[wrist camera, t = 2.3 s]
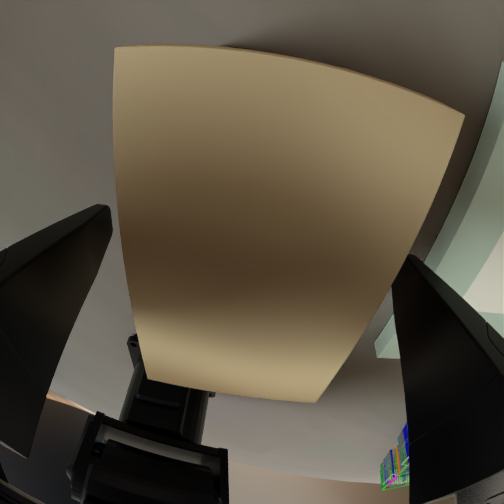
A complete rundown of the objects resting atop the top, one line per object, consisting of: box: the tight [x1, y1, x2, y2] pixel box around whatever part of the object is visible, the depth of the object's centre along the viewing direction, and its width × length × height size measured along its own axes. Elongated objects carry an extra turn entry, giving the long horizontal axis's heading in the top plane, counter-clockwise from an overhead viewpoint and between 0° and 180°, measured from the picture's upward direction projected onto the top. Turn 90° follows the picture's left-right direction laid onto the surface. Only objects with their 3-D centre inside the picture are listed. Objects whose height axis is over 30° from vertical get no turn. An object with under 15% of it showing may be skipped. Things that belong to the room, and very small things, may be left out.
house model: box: [380, 423, 409, 491], centre depth 30 cm, size 35×30×5 cm
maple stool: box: [113, 44, 465, 403], centre depth 10 cm, size 10×6×7 cm, turn 172°
